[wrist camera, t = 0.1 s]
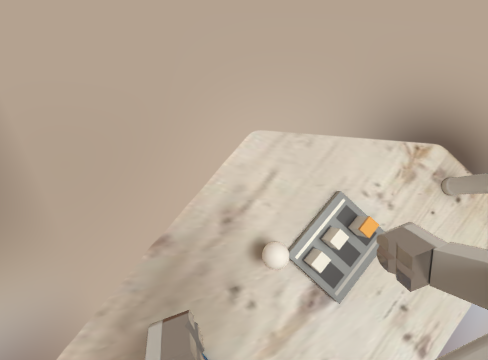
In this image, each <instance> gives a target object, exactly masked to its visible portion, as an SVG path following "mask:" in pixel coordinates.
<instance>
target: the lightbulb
mask: <svg viewBox="0 0 488 360" xmlns="http://www.w3.org/2000/svg"><path fill="white" fill-rule="evenodd" d="M262 258H263V261H264V263H265V265H266V266H267V267H269V268H270V269H274V270H279V269H282V268H284V267H285V266H286V265H287V263H288V261H289V251H288V249H287V247H286V246H285V245H284V244H282V243H280V242H271V243H269V244H267V245H266V246H265V247H264V249H263V252H262Z"/></svg>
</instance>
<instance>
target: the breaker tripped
mask: <svg viewBox="0 0 488 360" xmlns="http://www.w3.org/2000/svg"><path fill="white" fill-rule="evenodd" d="M378 226H379V224H378V223H376V222H375V221H374V220H373V219H372V218H371V217H370V216H368V217H366V216H357V217H356V218H355V220H354V221H353V222H352V223H351V225H350V226H349V227H348V228H349V229H350V230H351V231H352V232H354V233H355V234H356V235H357V236H362V237H367V238H370V237H371V235H372V234H373V233H374V232H375V230H376V229H377V228H378Z"/></svg>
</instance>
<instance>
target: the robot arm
mask: <svg viewBox="0 0 488 360" xmlns="http://www.w3.org/2000/svg"><path fill="white" fill-rule="evenodd" d="M376 242H377V243H378V244H379V247H378V249H377V258H378V260H379V262H380V264H381V265H382V266H383V268H384V269H386V270H387V271H388V272H390V273H393V274H396V278H397V280H398V281H399V282H400V283H401V284H402V285H403V286H405V287H406V288H407V289H408V290H409V291H410V292H411V291H414V290H416V289H419V288H421V287H424V286H426V285H429V284H430V286H432V287H435V288H437V289H439V290H442V291H444V292H447V293H449V294H451V295H454V296H456V297H459V298H461V299H463V300H466V301H468V302H471V303H473V304H475V305H478V306H480V307H483V308H485V309H487V310H488V250H487V249H482V248H477V247H473V246H468V245H463V244H458V243H454V242H449V243H447V242H445V241H443V240H442V239H440V238H438V237H436V236H435V235H433V234H431V233H430V232H428V231H426V230H425V229H423V228H421V227H419V226H418V225H416V224H414V223H412V222H408V223H405V224H403V225H401V226H398V227H395V228H393V229H390V230H388V231H386V232H383V233H381V234H378V236H377V237H376ZM203 351H204V345H203V339H202V335H201V331H200V328H199V326H198V324H197V323H195V322H194V316H193V314H192V312H191V310H187V311H185V312H182V313H179V314H177V315H174V316H171V317H168V318H166V319H163V320H161V321H158V322H156V323H153V324H150V326H149V328H148V334H147V344H146V353H145V360H204V358H203V356H202V353H203ZM435 360H488V334H486V335H484V336H482V337H480V338H478V339H476V340H474V341H472V342H470V343H468V344H466V345H464V346H462V347H460V348H457V349H455V350H453V351H451V352H449V353H447V354H446V355H443V356H441V357H439V358H437V359H435Z"/></svg>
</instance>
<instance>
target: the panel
mask: <svg viewBox="0 0 488 360" xmlns="http://www.w3.org/2000/svg"><path fill="white" fill-rule="evenodd" d="M357 216H366V217H368V216H367V215H366V214H365V213H364V212H363V211H362V210H361V209H359V208H358V207H357V206H356V205H355V204H354V203H353V202H352V201H351V200H350V199H349V198H348V197H346V196H345V195H344V194H343V193H342V192H341V191H337V192H336V193H335V194H334V196H333V197H332V198H331V199H330V200H329V202H328V203H327V204H326V205H325V206H324V208H323V209H322V210H321V211H320V212H319V214H318V215H317V216H316V217H315V218H314V220H313V221H312V222H311V223H310V224H309V226H308V227H307V228H306V229H305V230H304V232H303V233H302V234H301V235H300V236H299V238H298V239H297V240H296V241H295V242H294V244H293V245H292V246H291V247H290V248H289V250H288V251H289V258H290V259H291V260H292V261H293V262H294V263H295V264H296V265H297V266H298V267H299V268H301V269H302V270H303V271H304V272H305V273H306V274H307V275H308V276H309V277H310V278H311V279H313V280H314V281H315V282H316V283H317V284H318V285H319V286H320V287H321V288H322V289H323V290H324V291H326V292H327V293H328V294H329V295H330V296H331V297H332V298H333V299H334V300H335V301H337V302H338V303H339V304H340V303H341V301H342V300H343V299H344V297H345V296H346V295H347V293H348V292H349V291H350V290H351V288H352V287H353V286H354V284H355V283H356V282H357V280H358V279H359V278H360V276H361V275H362V274H363V272H364V271H365V270H366V268H367V267H368V266H369V265H370V263H371V262H372V261H373V259H374V258H375V257H376V255H377V249H378V247H379V244H378V243H377V242H376V237H377V236H378V234H381V233H383V232H384V231H383V230H382V229H381V228H380V227H379V226H378V228H377V229H376V230H375V232H374V233H373V234H372V235H371V237H370V238H367V237H362V236H357V235H356V234H355V233H354V232H352V231H351V230H350V229H349V228H348V227H349V226H350V225H351V223H352V222H353V221H354V220H355V218H356V217H357Z"/></svg>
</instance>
